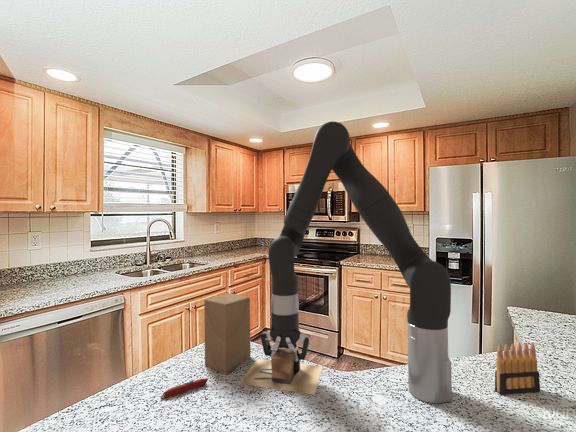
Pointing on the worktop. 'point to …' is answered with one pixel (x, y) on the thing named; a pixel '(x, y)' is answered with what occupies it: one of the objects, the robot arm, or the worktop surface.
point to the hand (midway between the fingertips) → (285, 372)
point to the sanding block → (283, 366)
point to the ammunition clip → (516, 370)
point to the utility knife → (184, 388)
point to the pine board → (263, 378)
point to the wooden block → (226, 331)
